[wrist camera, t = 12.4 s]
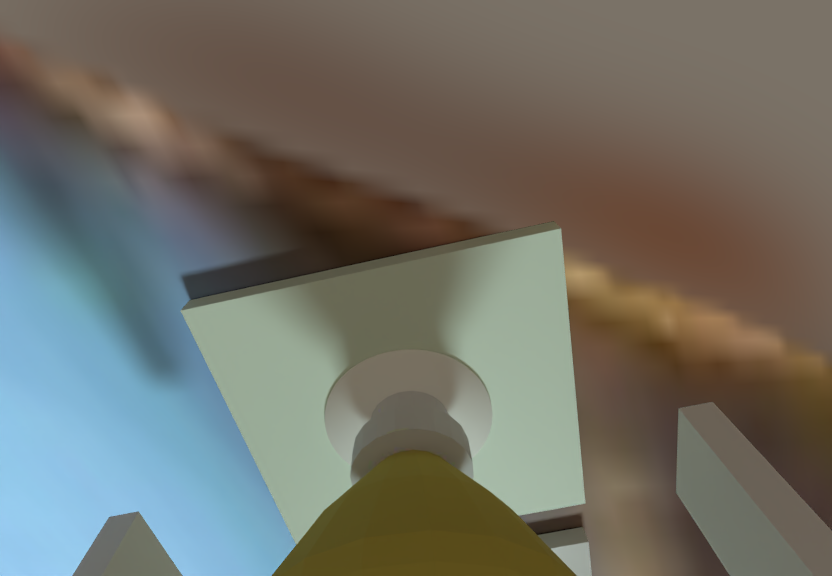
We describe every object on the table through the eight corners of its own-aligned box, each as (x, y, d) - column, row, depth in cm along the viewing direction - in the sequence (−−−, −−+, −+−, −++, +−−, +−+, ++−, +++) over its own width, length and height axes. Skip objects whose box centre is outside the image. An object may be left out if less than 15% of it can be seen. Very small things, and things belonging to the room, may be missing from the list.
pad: (304, 539, 17) (300, 557, 17) (189, 300, 13) (179, 312, 12) (579, 489, 17) (586, 505, 16) (553, 221, 12) (562, 229, 12)
